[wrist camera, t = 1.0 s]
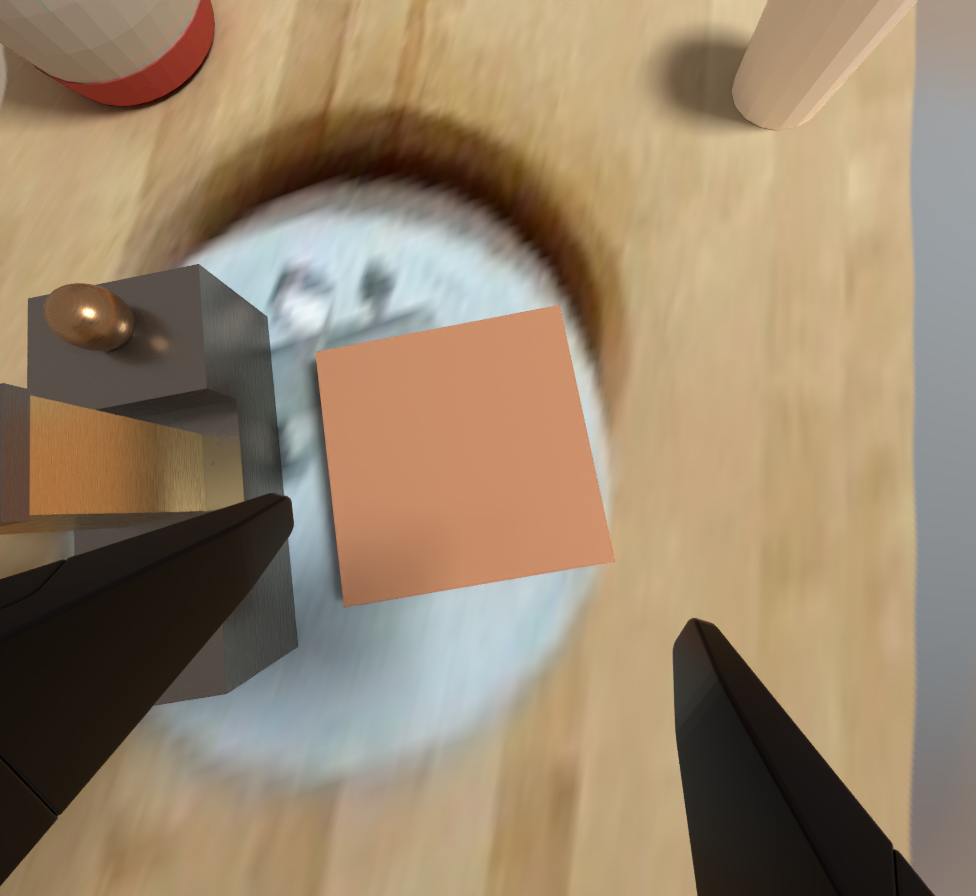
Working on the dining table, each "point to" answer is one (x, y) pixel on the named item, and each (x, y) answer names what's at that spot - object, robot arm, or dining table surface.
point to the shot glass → (807, 55)
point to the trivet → (459, 458)
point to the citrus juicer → (111, 43)
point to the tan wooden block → (91, 467)
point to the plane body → (180, 423)
